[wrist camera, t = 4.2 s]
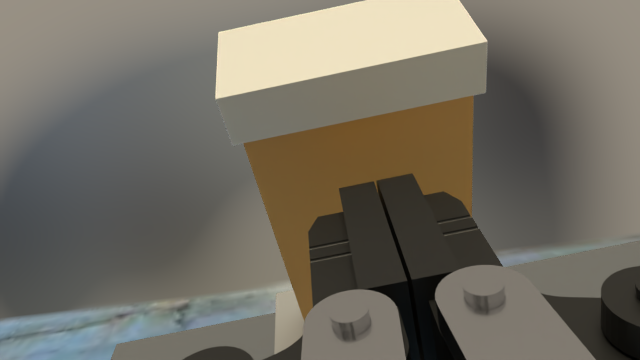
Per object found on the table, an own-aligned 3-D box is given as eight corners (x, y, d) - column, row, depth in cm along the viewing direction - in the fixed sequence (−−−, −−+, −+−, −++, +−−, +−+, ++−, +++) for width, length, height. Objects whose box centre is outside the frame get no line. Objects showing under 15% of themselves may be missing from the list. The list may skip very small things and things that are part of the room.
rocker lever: (326, 408, 20) (215, 102, 11) (317, 335, 22) (218, 30, 13) (478, 380, 20) (489, 43, 11) (453, 308, 22) (445, -20, 13)
